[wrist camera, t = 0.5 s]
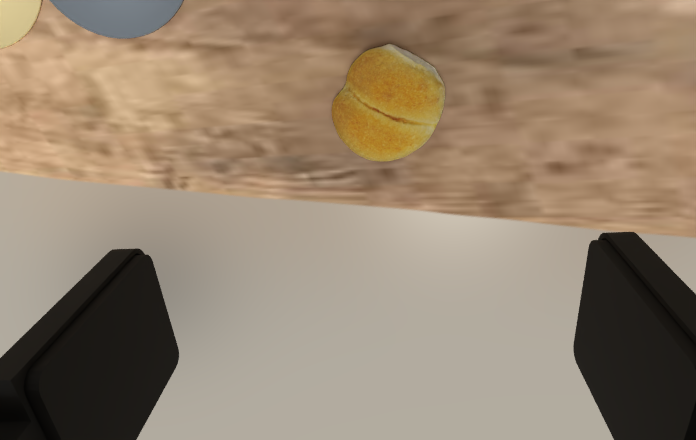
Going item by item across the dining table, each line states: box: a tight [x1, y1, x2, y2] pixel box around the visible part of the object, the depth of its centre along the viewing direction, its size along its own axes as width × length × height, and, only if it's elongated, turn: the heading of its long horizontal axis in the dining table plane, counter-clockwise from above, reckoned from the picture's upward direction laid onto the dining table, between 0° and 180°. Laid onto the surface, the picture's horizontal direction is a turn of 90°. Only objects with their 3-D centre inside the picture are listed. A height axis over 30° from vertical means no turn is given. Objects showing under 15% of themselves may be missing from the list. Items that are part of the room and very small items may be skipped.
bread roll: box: [332, 44, 445, 161], centre depth 38 cm, size 8×9×4 cm
